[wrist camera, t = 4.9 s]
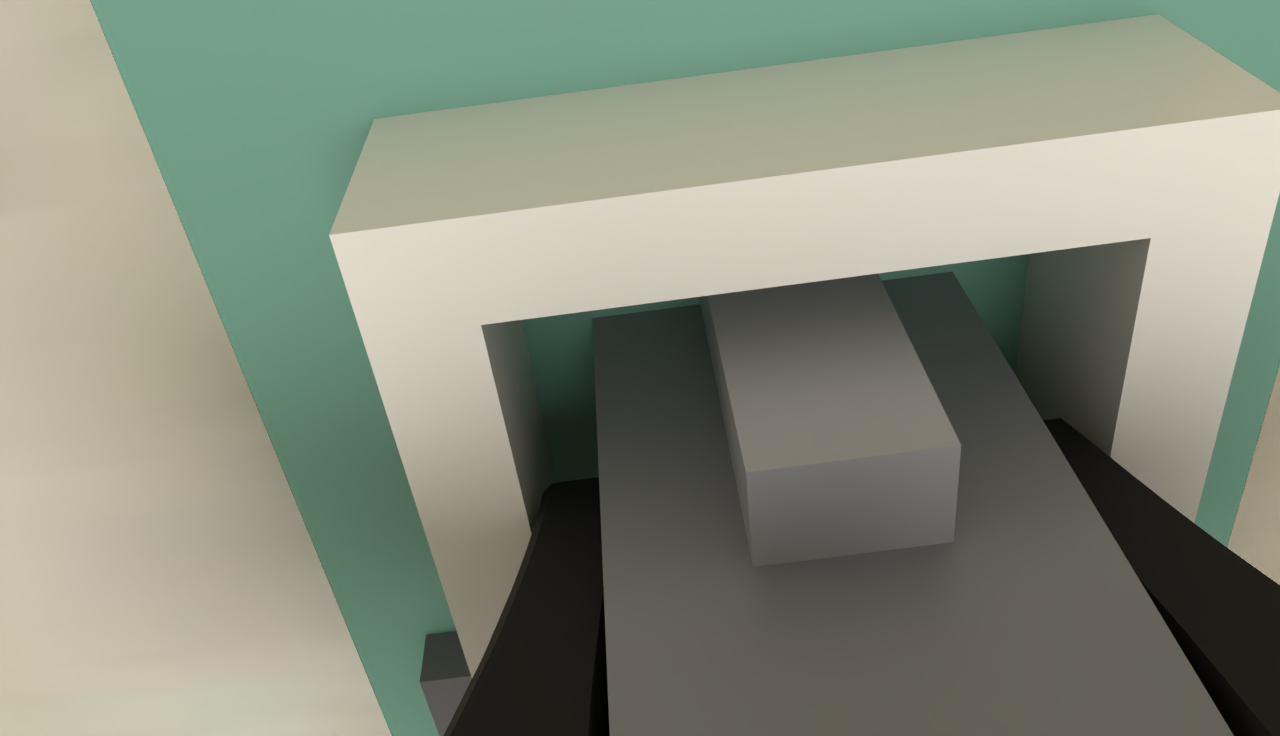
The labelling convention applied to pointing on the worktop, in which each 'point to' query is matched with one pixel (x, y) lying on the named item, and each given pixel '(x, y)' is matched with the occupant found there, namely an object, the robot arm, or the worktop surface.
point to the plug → (858, 531)
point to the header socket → (815, 241)
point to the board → (558, 345)
